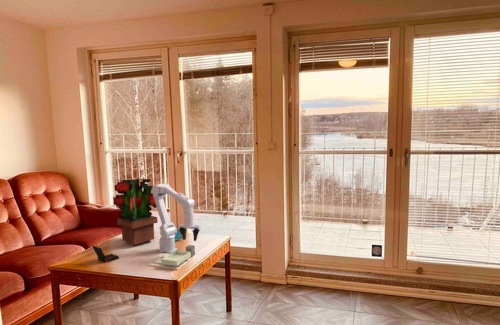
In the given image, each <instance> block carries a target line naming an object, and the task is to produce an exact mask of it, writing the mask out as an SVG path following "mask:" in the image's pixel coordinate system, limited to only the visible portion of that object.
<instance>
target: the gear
mask: <svg viewBox="0 0 500 325" xmlns="http://www.w3.org/2000/svg"><path fill="white" fill-rule="evenodd" d="M176 229H177V233H176V234H175V242H177V241H178V240H183V237H182V235H181V233H180V231H179V229H180V228H176Z"/></svg>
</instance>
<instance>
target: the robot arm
mask: <svg viewBox="0 0 500 325" xmlns="http://www.w3.org/2000/svg"><path fill="white" fill-rule="evenodd" d="M152 186H153V187H152V190H151V193H153V196H154V200H155V203H156V207H157V208H156V209H157V212H158V216H159V219H160V222H161V225H160V227H159V232H160V233H159V234H160V238H159V240H158V241H159V243H158V244H159V250H158V251H159V252H160V253H161V252H162V253H169V254H171V253H172V252H174V251H176V250H178V248H177V247H176V241H175V234H176V233H177V229H179V231H180V233H181V234H180V235H181V236H182V237H183V239H182V241H184V240H187V229H190V230H191V229H192V233H193V242H196V241H197V239H198V237H199V236H198V234H199V233H200V231H201V225H196V224H195V222H194V221H195V218H194V214H195V213H194V208H195V206H196V201H195V200H194V199H193V198H192V197H189V198H188V196H185V195H184V194H183V192H179V193H178V192H177V191H176V190H174V189H173V188H172V187H171V185H170V184H168V183H167V182H164V183H159V184H153V185H152ZM166 195H169V196H171V197H172V198H174V201H175V202H176V203H178V204H179V205H181V207H182V210H183V217H184V218H183V219H184V220H183V221H184V224H183V223H181V224H177V226H178V228H177V227H176V226H175V223H174V222H172V221H171V219H170V217H169V213H168V210H167V207H166V204H165V200H164V198H165V196H166Z"/></svg>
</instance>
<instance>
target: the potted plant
mask: <svg viewBox="0 0 500 325" xmlns="http://www.w3.org/2000/svg"><path fill="white" fill-rule="evenodd" d="M148 183H151V178H140V177H137V178H134V179H133V178H131V179H118V182H117V183H116V184H115V185H114V191H116V192H117V193H118V194H116V195H115V196H114V195H112V197H113V198H112V201H113V202H112V203H113V206H116V207H117V208H118V209H119V210H121V213H119V214H118V216H119V218H117V219H116V220H117V221H116V223H117V224H116V225H118V226H120V227H121V240H122V242H125V243H126V244H129V245H131V246H132V247H139V246H141V245H145V244H148V243H151V241H152V240H153V241H154V240H155V226H154V225H155V224H157V223H158V216H154V215H153V212H151V211H152V209H153V208H154V209H157V207H156V203H155V200H154V196H153V193H152V187H153V186H154V185H149V184H148ZM152 207H153V208H152Z"/></svg>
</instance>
